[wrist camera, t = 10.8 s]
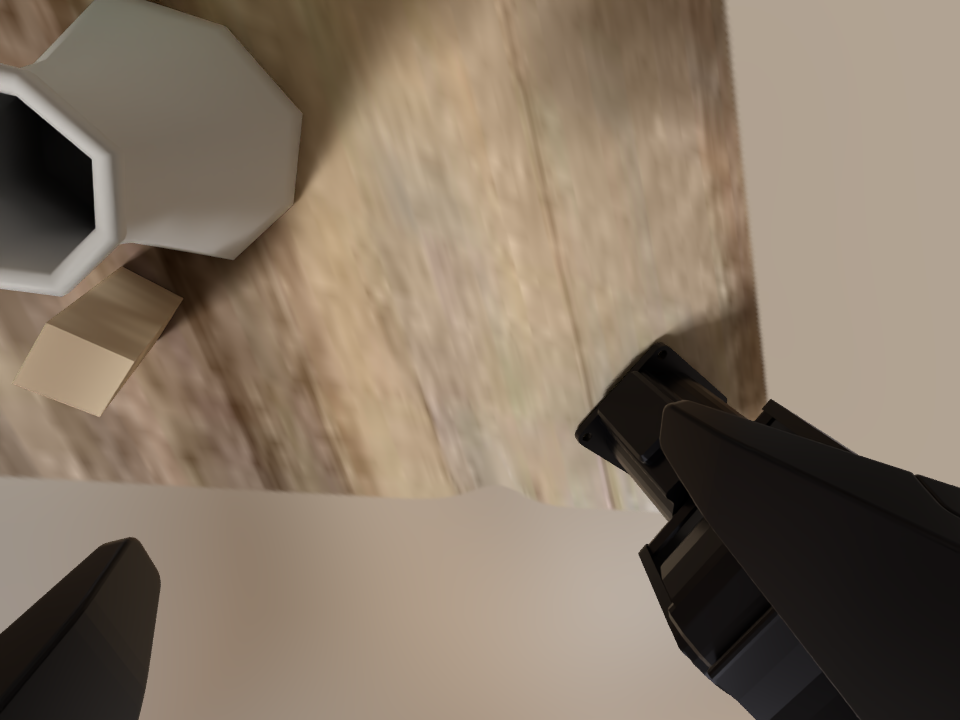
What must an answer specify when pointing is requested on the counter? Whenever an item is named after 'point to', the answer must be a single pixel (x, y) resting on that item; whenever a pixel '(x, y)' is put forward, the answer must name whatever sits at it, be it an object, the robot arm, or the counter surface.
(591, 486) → the counter surface
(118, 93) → the flask
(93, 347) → the door frame
